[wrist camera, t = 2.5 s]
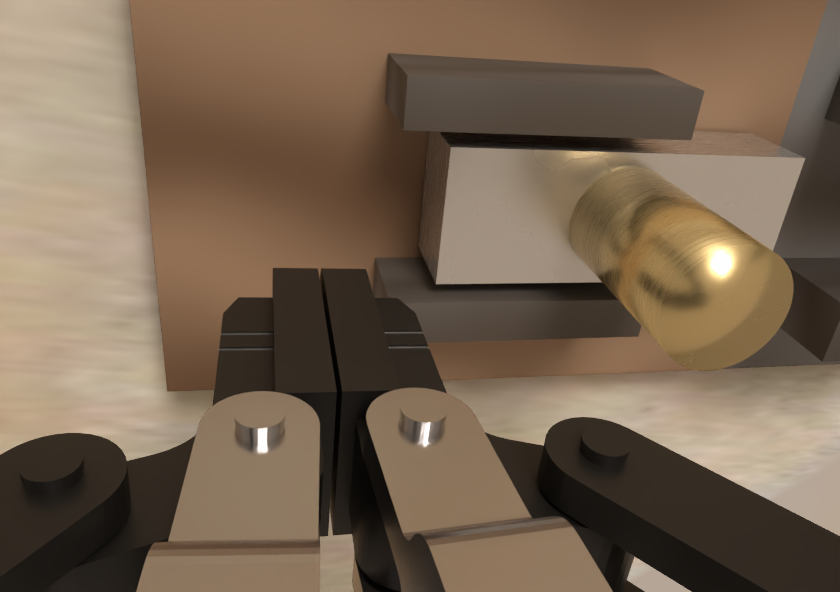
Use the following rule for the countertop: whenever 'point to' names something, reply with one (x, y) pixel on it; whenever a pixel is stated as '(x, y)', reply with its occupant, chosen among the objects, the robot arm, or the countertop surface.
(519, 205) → the lock bolt
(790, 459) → the countertop surface
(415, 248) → the door board
